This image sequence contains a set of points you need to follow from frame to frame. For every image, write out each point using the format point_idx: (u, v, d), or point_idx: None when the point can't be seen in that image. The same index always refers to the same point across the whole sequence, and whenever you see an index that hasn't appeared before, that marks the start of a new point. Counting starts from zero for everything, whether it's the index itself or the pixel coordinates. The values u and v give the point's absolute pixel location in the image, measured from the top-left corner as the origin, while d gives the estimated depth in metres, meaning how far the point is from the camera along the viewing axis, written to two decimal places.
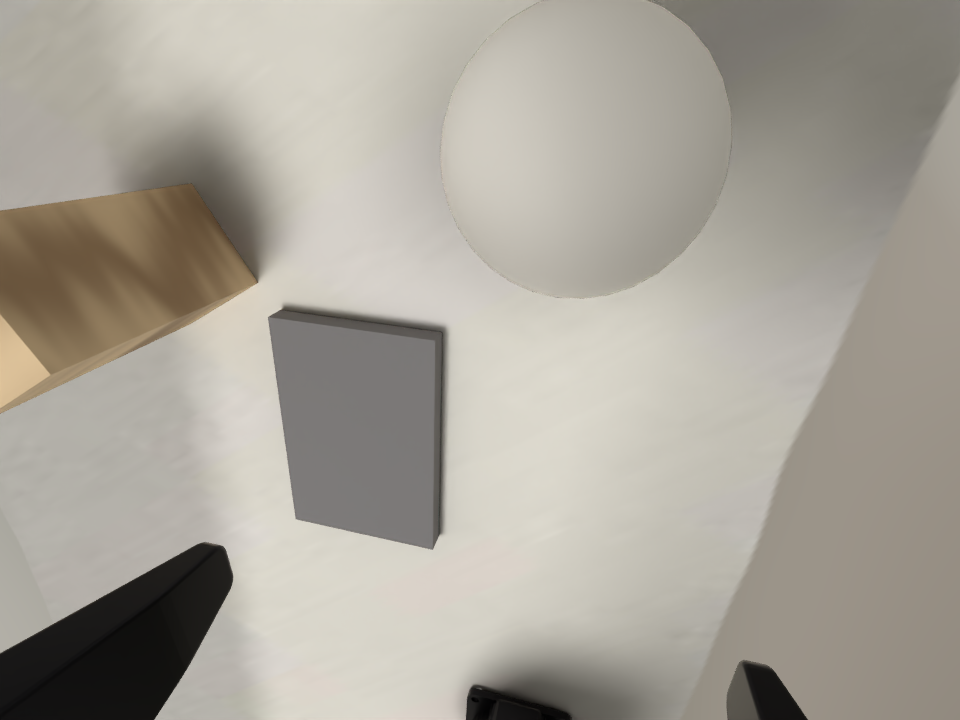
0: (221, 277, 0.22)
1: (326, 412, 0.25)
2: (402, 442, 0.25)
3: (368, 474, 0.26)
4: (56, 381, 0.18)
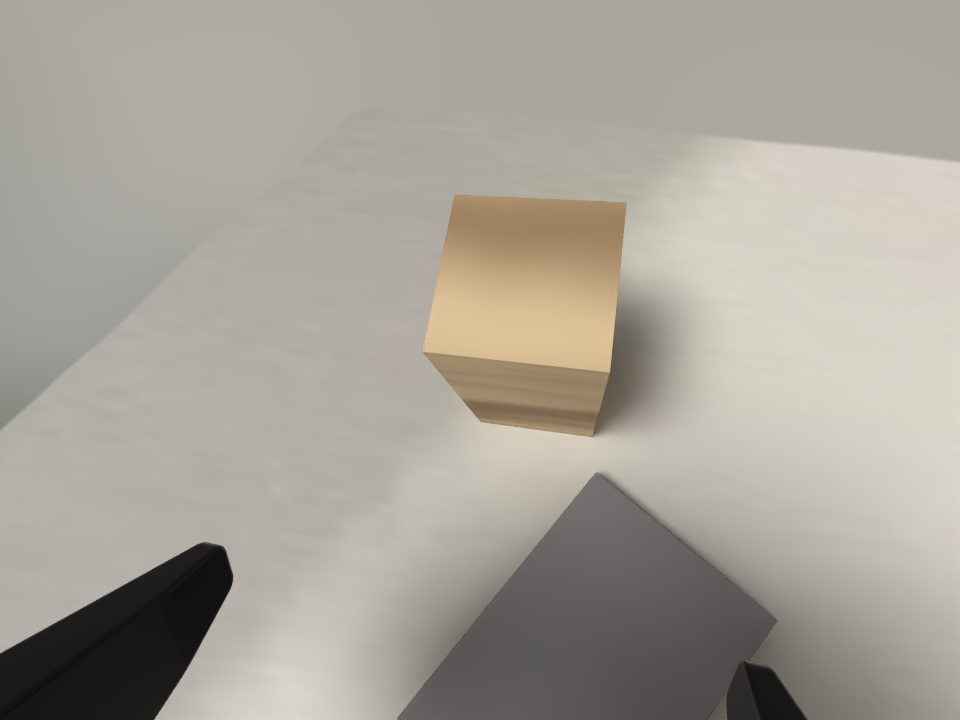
0: None
1: (573, 609, 0.20)
2: (645, 713, 0.18)
3: None
4: (508, 378, 0.15)
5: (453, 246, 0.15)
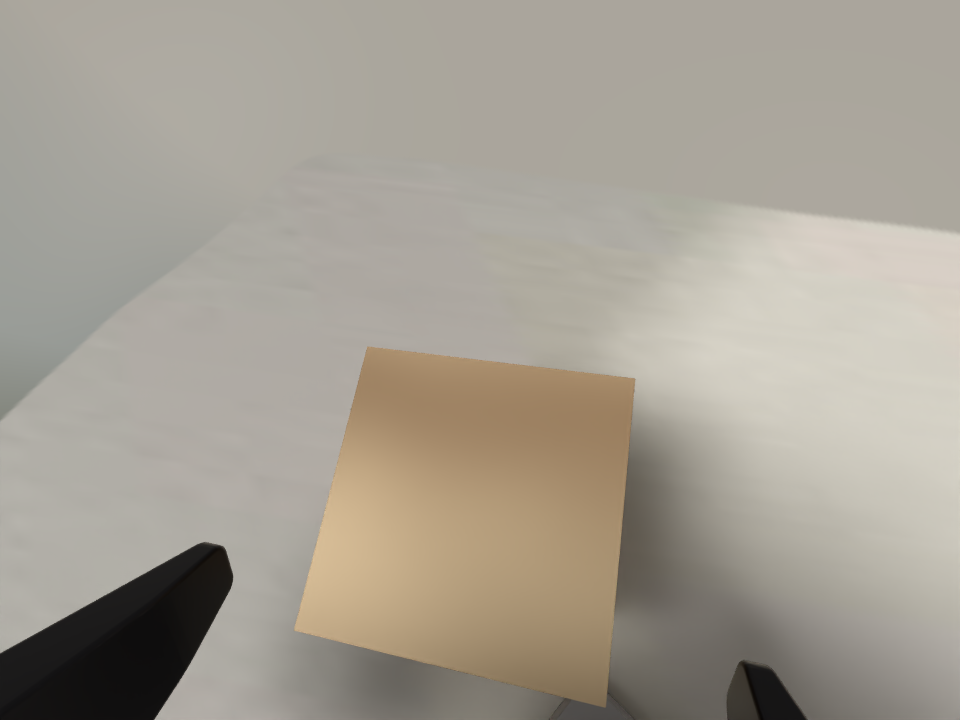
0: None
1: None
2: None
3: None
4: None
5: (358, 437, 0.09)
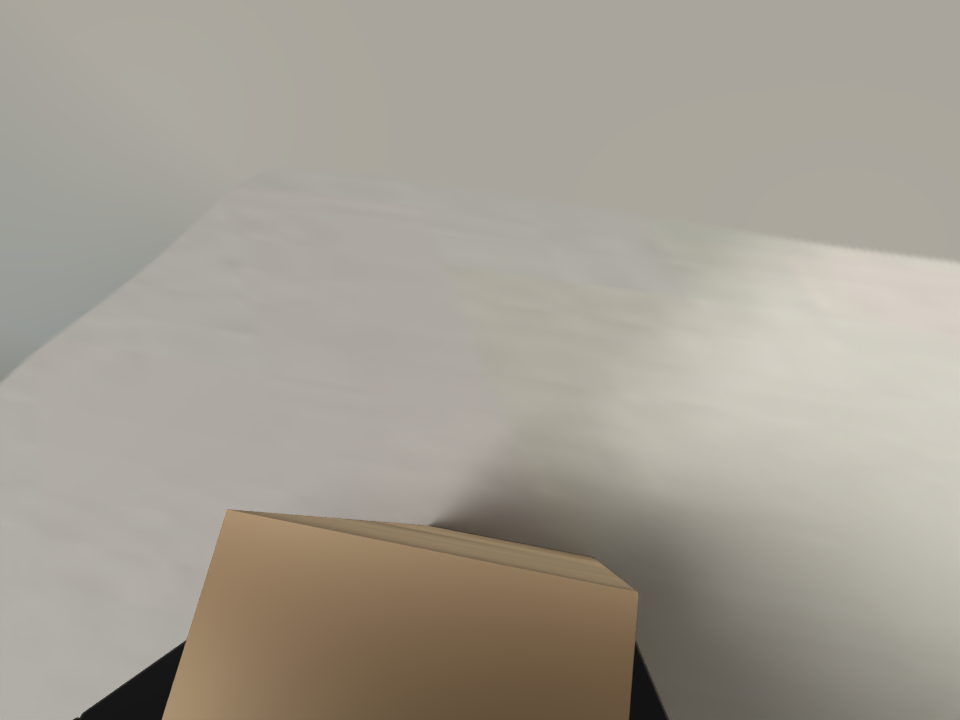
0: None
1: None
2: None
3: None
4: None
5: (199, 668, 0.06)
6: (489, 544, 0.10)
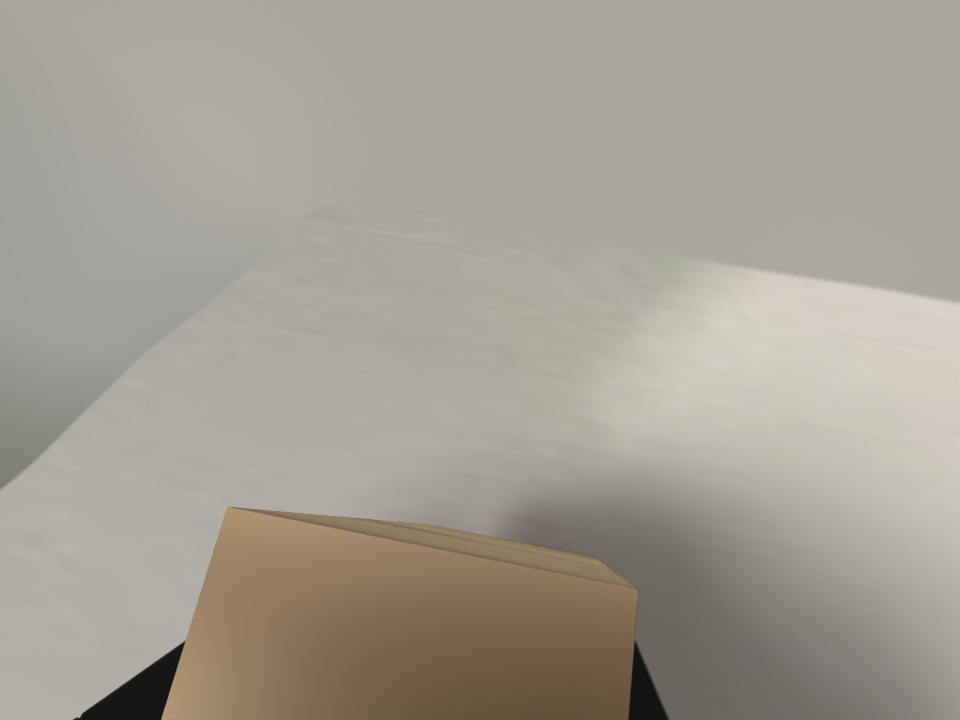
0: None
1: None
2: None
3: None
4: None
5: (200, 665, 0.06)
6: (489, 542, 0.11)
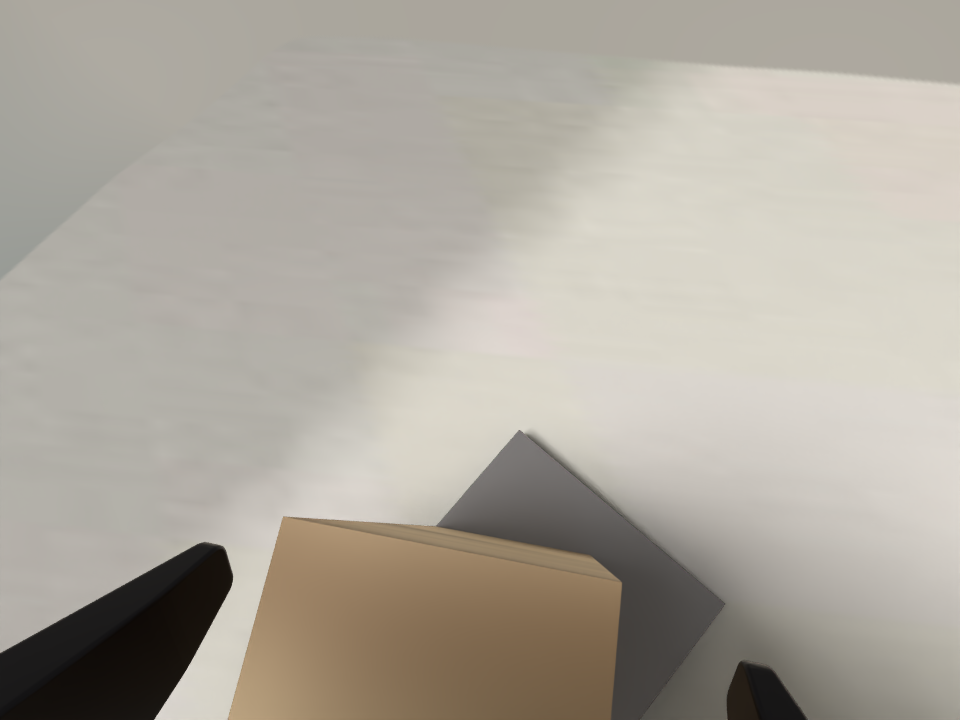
0: None
1: None
2: None
3: None
4: None
5: (266, 647, 0.07)
6: (496, 544, 0.12)
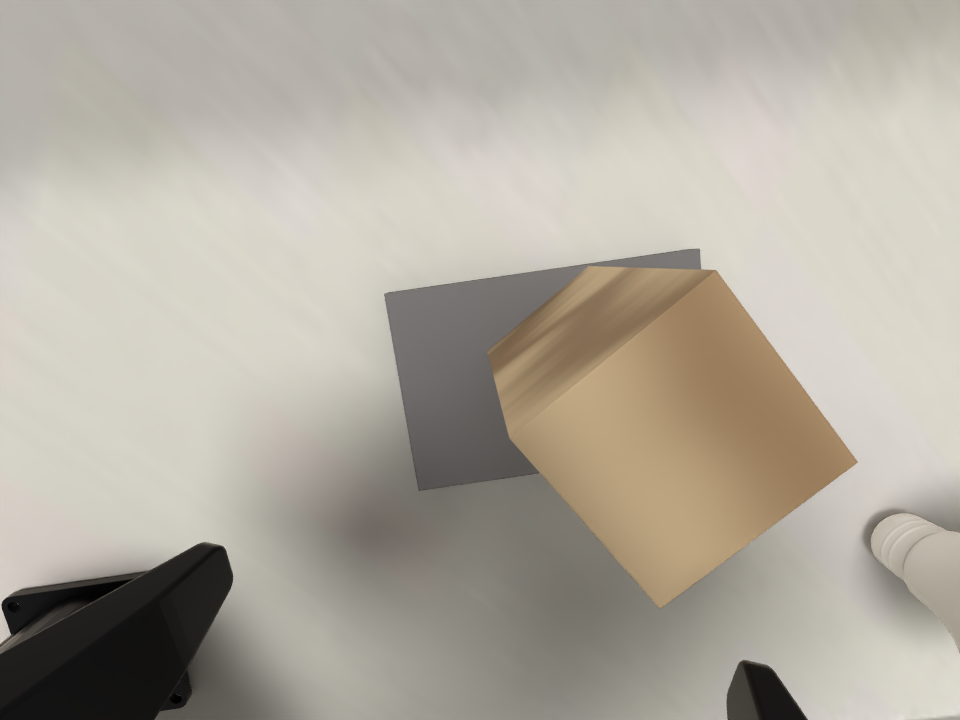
0: None
1: None
2: None
3: None
4: None
5: (650, 341, 0.10)
6: None
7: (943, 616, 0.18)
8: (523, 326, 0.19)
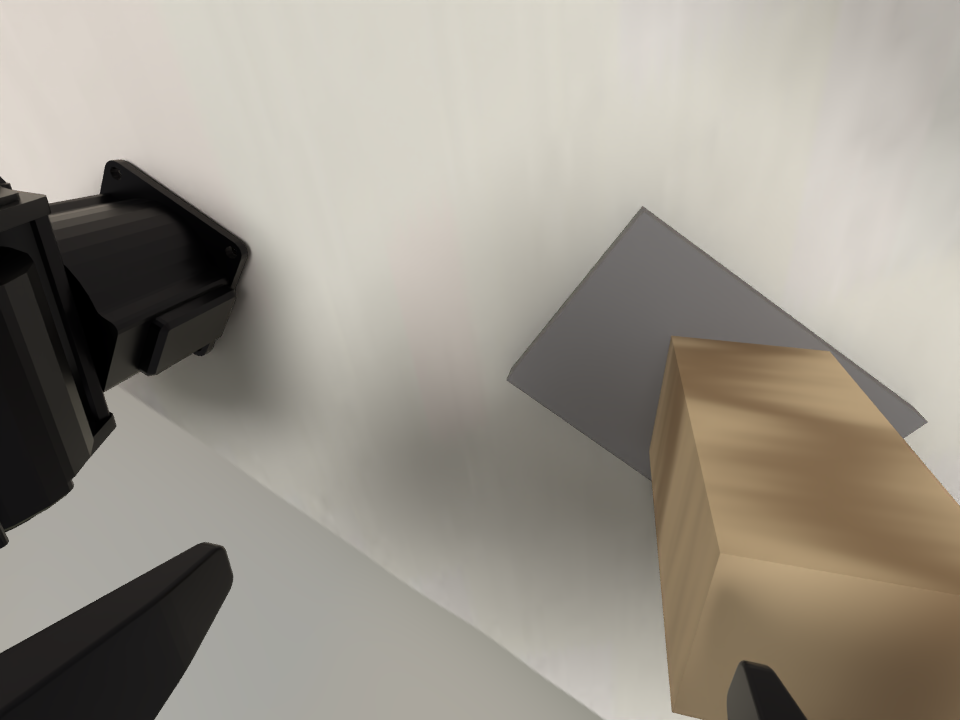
0: None
1: None
2: None
3: (648, 380, 0.19)
4: (686, 565, 0.12)
5: (919, 600, 0.09)
6: None
7: None
8: (727, 353, 0.17)
